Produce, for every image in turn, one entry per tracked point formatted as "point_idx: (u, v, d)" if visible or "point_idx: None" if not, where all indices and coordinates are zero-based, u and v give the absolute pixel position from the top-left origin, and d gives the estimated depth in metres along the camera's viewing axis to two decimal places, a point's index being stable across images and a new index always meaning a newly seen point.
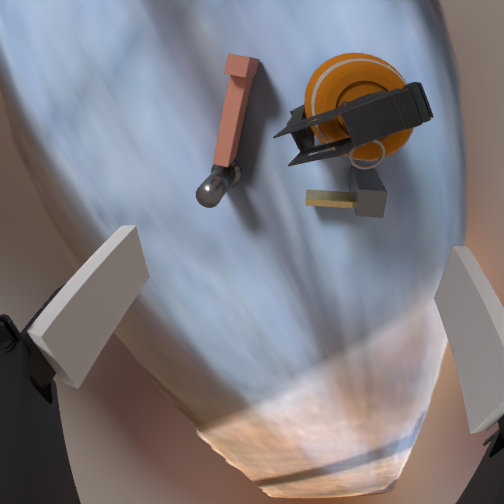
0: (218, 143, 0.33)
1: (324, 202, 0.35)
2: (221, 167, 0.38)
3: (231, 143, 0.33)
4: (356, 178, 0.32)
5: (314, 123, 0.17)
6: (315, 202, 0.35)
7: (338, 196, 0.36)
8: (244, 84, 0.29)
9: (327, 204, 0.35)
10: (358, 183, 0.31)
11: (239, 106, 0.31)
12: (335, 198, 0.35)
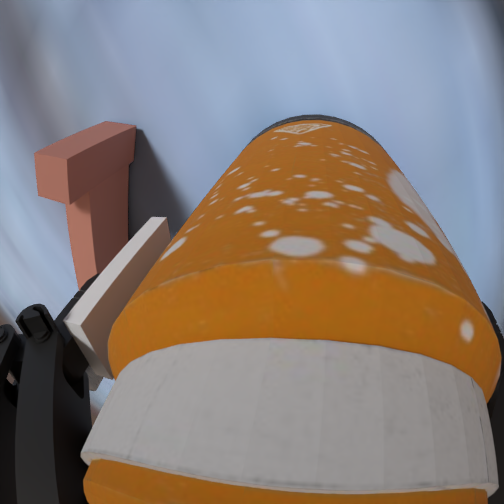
0: None
1: None
2: None
3: None
4: None
5: None
6: None
7: None
8: (89, 203, 0.14)
9: None
10: None
11: (92, 244, 0.15)
12: None
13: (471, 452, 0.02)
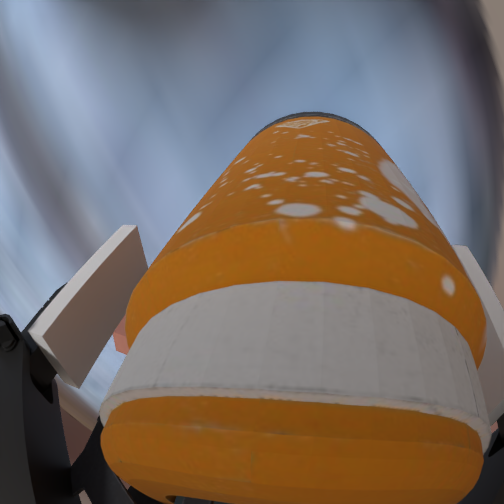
0: None
1: None
2: None
3: None
4: None
5: None
6: None
7: None
8: None
9: None
10: None
11: None
12: None
13: (458, 384, 0.03)
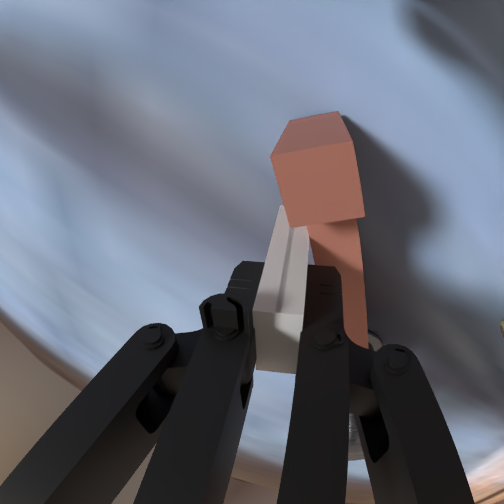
0: None
1: None
2: None
3: (366, 347, 0.14)
4: None
5: None
6: None
7: None
8: None
9: None
10: None
11: (361, 276, 0.12)
12: None
13: None
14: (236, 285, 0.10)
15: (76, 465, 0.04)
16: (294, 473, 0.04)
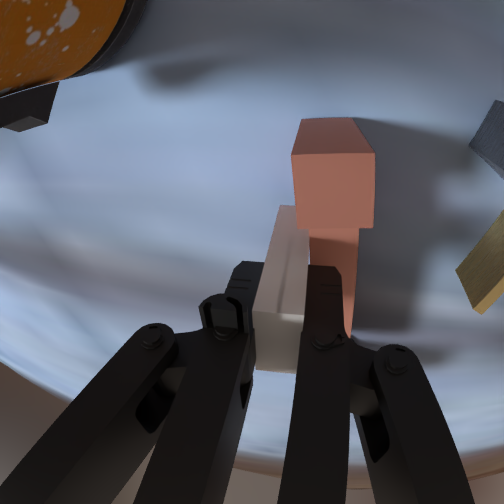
0: None
1: None
2: None
3: None
4: None
5: None
6: (493, 295, 0.11)
7: None
8: None
9: None
10: None
11: (353, 283, 0.12)
12: None
13: None
14: (236, 285, 0.10)
15: (76, 465, 0.04)
16: (294, 473, 0.04)
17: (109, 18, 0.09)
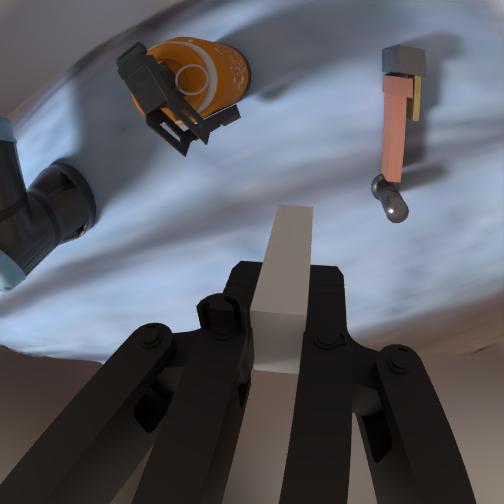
0: (390, 161, 0.33)
1: (415, 103, 0.29)
2: (378, 192, 0.38)
3: (401, 159, 0.33)
4: (390, 70, 0.27)
5: (157, 131, 0.22)
6: (416, 111, 0.29)
7: None
8: (405, 103, 0.29)
9: (418, 100, 0.28)
10: (394, 70, 0.26)
11: (404, 124, 0.30)
12: None
13: None
14: (234, 285, 0.10)
15: (75, 464, 0.04)
16: (297, 473, 0.04)
17: (247, 78, 0.32)
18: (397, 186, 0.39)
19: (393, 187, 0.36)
